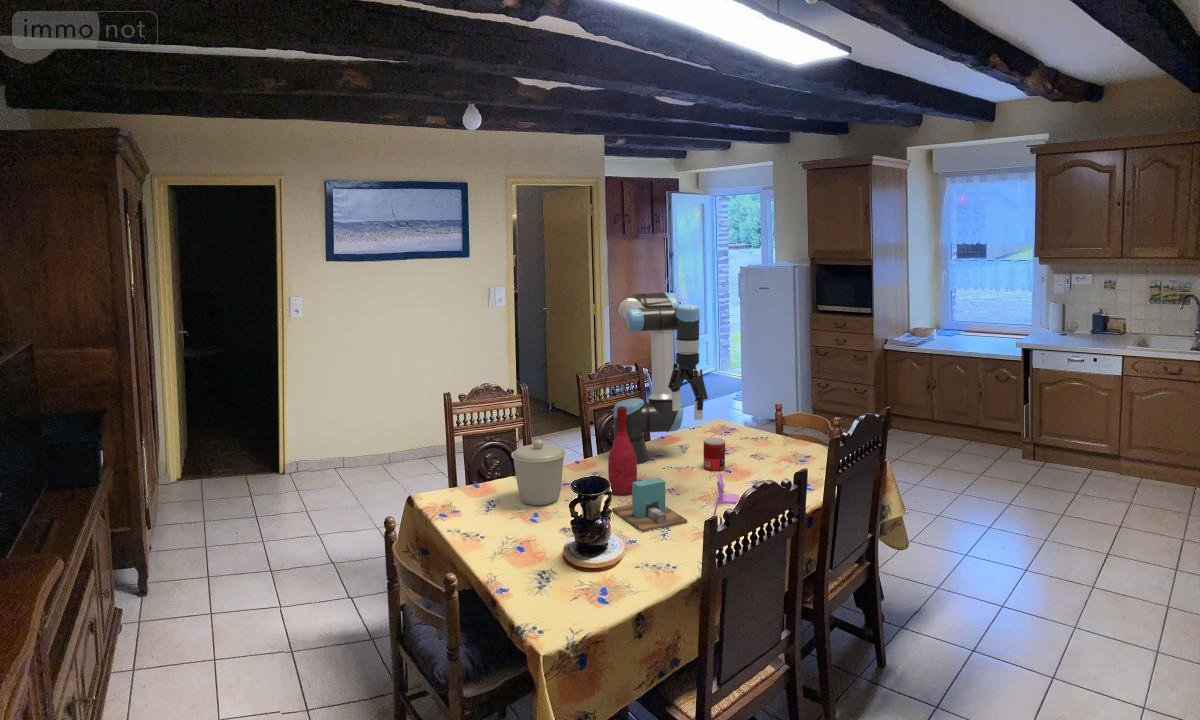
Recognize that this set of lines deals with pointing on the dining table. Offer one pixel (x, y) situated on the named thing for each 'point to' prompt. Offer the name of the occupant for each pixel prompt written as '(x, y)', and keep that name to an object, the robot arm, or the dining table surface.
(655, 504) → the clip
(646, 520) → the rail board
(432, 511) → the dining table surface
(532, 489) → the canister
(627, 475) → the wine bottle
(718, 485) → the toy chair
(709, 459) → the canned food
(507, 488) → the dining table surface
